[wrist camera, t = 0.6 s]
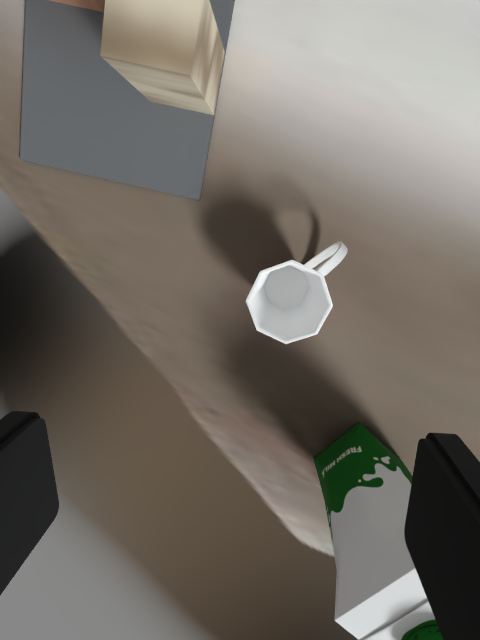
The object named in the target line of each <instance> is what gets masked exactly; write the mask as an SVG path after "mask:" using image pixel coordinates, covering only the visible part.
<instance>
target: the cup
mask: <svg viewBox="0 0 480 640" xmlns="http://www.w3.org/2000/svg"><path fill="white" fill-rule="evenodd" d="M347 250H348V249H347V248H346V247H345V245H344V244H343V243H342V242H341V241H339V242H336V243H334V244H332V245H331V246H329V247H328V248H326V249H325V250H323V251H322V252H320V253H319V254H318V255H316V256H315V257H313V258H312V259H311V260H309V261H308V262H307V263H305V264H304V265H303V264H300V263H298V262H296V261H294V260H290V261H287V262H284V263H281V264H279V265H276V266H273V267H270V268H267V269H265V270H262V271H260V272H259V274H258V276H257V278H256V280H255V283H254V285H253V287H252V289H251V291H250V293H249V295H248V297H247V299H246V303H247V305H248V308H249V311H250V313H251V316H252V319H253V322H254V324H255V327H256V330H257V331H259V332H261V333H263V334H265V335H268V336H270V337H272V338H274V339H276V340H278V341H280V342H283V343H285V344H288V343H291V342H294V341H297V340H300V339H304V338H307V337H310V336H313V335H316V334H317V333H318V332H319V330H320V328H321V326H322V324H323V323H324V321H325V319H326V317H327V316H328V314H329V312H330V310H331V308H332V307H333V304H332V301H331V298H330V295H329V291H328V288H327V285H326V282H325V279H324V276H325V275H327V274H328V273H329V272H330V271H331V270H332V269H334V268H335V267H336V266H337V265H338V264H339V263H340V262H341V261H342V260H343V258H344V257H345V255H346V254H347ZM333 254H334V255H333ZM331 255H333V256H332V257H331V258H330V259H329V260H327V261H326V262H325V263H324V264H322V265H321V266H320V267H319V268H317V269H316V270H313V269H312V268H313V267H315V266H316V265H318V264H319V263H320V262H322V261H323V260H325V259H326V258H328V257H330V256H331Z"/></svg>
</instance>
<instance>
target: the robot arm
mask: <svg viewBox="0 0 480 640" xmlns="http://www.w3.org/2000/svg"><path fill="white" fill-rule="evenodd" d="M58 508H59V501H58V494H57V488H56V482H55V476H54V470H53V465H52V458H51V452H50V446H49V440H48V435H47V428H46V424H45V421H44V420H43V419H42V418H40V416H39V415H38V413H36V412H21V411H13V412H11V413H9V414H7V415H6V416H5V417H3V418H2V419H1V420H0V595H1V593H2V592H3V591H4V589H5V588H6V586H7V585H8V584H9V582H10V581H11V579H12V578H13V577H14V575H15V574H16V572H17V571H18V570H19V568H20V567H21V565H22V564H23V563H24V561H25V560H26V558H27V557H28V556H29V554H30V553H31V551H32V550H33V549H34V547H35V546H36V544H37V543H38V542H39V540H40V539H41V537H42V536H43V535H44V533H45V532H46V530H47V529H48V528H49V526H50V525H51V523H52V522H53V521H54V519H55V517H56V515H57V513H58ZM404 536H405V542H406V546H407V548H408V551H409V554H410V556H411V559H412V561H413V564H414V566H415V569H416V571H417V574H418V576H419V579H420V581H421V584H422V587H423V589H424V592H425V594H426V597H427V599H428V602H429V604H430V607H431V609H432V612H433V614H434V617H435V620H436V622H437V625H438V627H439V630H440V632H441V635H442V637H443V640H480V462H479V461H478V460H477V458H476V457H475V456H474V455H473V454H472V452H471V451H470V450H469V449H468V447H467V446H466V445H465V444H464V442H463V441H462V440H461V439H460V438H459V437H458V436H457V435H456V434H445V433H429V434H428V435H427V436H426V439H420V440H419V442H418V447H417V453H416V460H415V466H414V472H413V478H412V484H411V490H410V496H409V503H408V509H407V515H406V521H405V527H404Z"/></svg>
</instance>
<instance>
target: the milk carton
mask: <svg viewBox="0 0 480 640" xmlns="http://www.w3.org/2000/svg"><path fill="white" fill-rule="evenodd" d="M314 461H315V465H316V469H317V473H318V477H319V480H320V484H321V488H322V492H323V496H324V500H325V505H326V511H327V516H328V522H329V527H330V533H331V539H332V544H333V550H334V555H335V561H336V567H337V585H336V604H335V621H336V622H337V623H338V624H340V625H341V626H342V627H344V628H345V629H346V630H347V631H348V632H350V633H351V634H352V635H353V636H355V637H356V638H357V639H358V640H443V637H442V635H441V632H440V630H439V627H438V625H437V622H436V620H435V617H434V614H433V612H432V609H431V607H430V604H429V602H428V599H427V597H426V594H425V592H424V589H423V587H422V584H421V581H420V579H419V576H418V574H417V571H416V569H415V566H414V564H413V561H412V559H411V556H410V554H409V551H408V548H407V546H406V542H405V536H404V527H405V521H406V515H407V509H408V503H409V496H410V490H411V484H412V478H413V476H412V475H411V473H410V472H409V471H408V469H407V468H406V466H405V465H404V463H403V462H402V461H401V460H400V459H399V458H398V457H397V456H396V455H395V454H394V453H393V452H391V451H390V450H389V449H388V448H387V447H386V446H385V445H384V444H383V443H382V442H380V441H379V440H378V439H377V438H376V437H375V436H374V435H373V434H372V433H371V432H369V431H368V430H367V429H366V428H365V427H364V426H363V425H362V424H361V423H360V422H358V423H357V424H356V425H355V426H353V427H352V428H351V429H350V430H348V431H347V432H346V433H345V434H344V435H342V436H341V437H340V438H339V439H337V440H336V441H335V442H334V443H333V444H331V445H330V446H329V447H328V448H327V449H325V450H324V451H323V452H322V453H320V454H319V455H318V456H317V457H316V458H314Z"/></svg>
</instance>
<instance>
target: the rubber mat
mask: <svg viewBox="0 0 480 640" xmlns="http://www.w3.org/2000/svg"><path fill="white" fill-rule="evenodd" d="M209 1H210V4H211V7H212V11H213V14H214V17H215V21H216V24H217V28H218V31H219V34H220V38H221V41H222V44H223V48H224V51H225V53H226V48H227V42H228V36H229V30H230V25H231V19H232V13H233V7H234V2H235V0H209ZM104 7H105V1H104ZM103 19H104V12H100V11H96V10H91V9H86V8H82V7H77V6H72V5H68V4H63V3H58V2H54V1H49V0H26V6H25V34H24V61H23V89H22V116H21V143H20V160H23V161H27V162H32V163H36V164H40V165H45V166H49V167H54V168H58V169H63V170H67V171H71V172H76V173H80V174H85V175H89V176H94V177H98V178H103V179H107V180H111V181H116V182H120V183H125V184H129V185H134V186H138V187H142V188H147V189H151V190H156V191H160V192H165V193H169V194H174V195H178V196H182V197H187V198H191V199H196V200H200V197H201V191H202V185H203V180H204V174H205V168H206V162H207V157H208V151H209V145H210V139H211V134H212V128H213V122H214V116H215V111H216V106H215V111H214V115H211V114H206V113H202V112H197V111H193V110H188V109H184V108H179V107H175V106H170V105H165V104H161V103H156V102H152V101H149V100H148V99H147V98H146V97H145V96H144V95H143V94H141V93H140V92H139V91H138V90H137V89H136V88H135V87H134V86H133V85H132V84H131V83H129V82H128V81H127V80H126V79H125V78H124V77H123V76H122V75H121V74H120V73H119V72H117V71H116V70H115V69H114V68H113V67H112V66H111V65H110V64H109V63H108V62H107V61H105V60H104V59H103V58H102V57H101V56H100V52H101V41H102V30H103ZM224 59H225V54H224ZM223 65H224V60H223ZM223 65H222V71H223ZM222 71H221V76H222ZM220 82H221V77H220ZM219 88H220V83H219ZM219 88H218V94H219ZM218 94H217V99H218ZM216 105H217V100H216Z"/></svg>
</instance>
